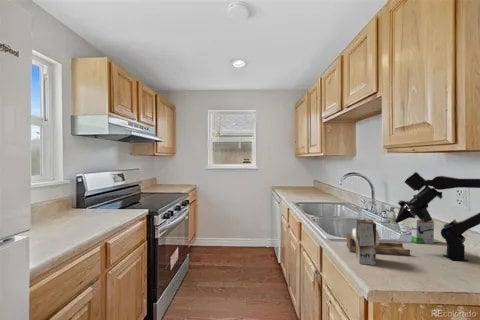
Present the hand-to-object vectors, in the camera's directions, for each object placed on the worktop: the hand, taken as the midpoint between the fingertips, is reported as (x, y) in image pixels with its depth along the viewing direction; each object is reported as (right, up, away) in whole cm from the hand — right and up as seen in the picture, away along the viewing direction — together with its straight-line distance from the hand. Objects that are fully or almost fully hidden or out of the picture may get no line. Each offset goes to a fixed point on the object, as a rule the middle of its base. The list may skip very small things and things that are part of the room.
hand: (396, 222), depth 138 cm
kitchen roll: (-13, -12, +2) cm, 18 cm away
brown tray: (-8, -13, +1) cm, 15 cm away
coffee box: (-19, -13, -13) cm, 27 cm away
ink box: (+21, -13, +15) cm, 29 cm away
